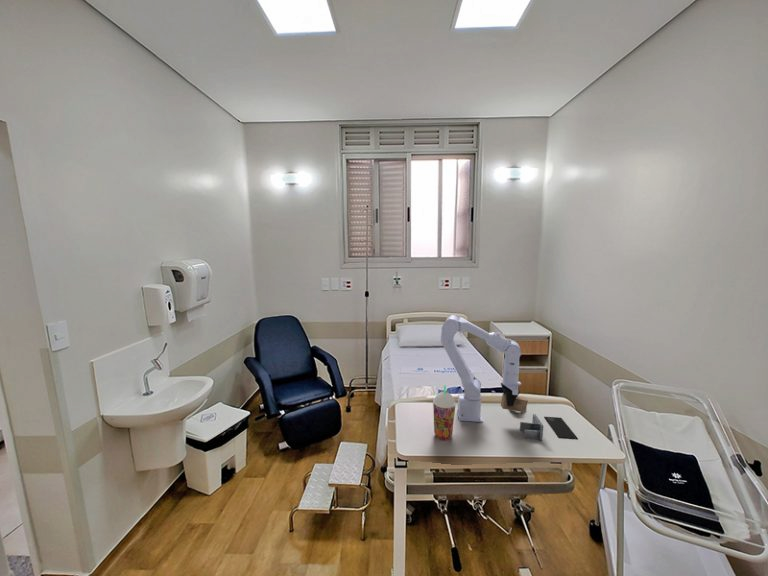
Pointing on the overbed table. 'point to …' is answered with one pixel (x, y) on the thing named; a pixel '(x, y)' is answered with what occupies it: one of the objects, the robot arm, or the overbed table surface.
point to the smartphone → (560, 428)
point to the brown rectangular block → (515, 403)
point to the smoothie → (443, 414)
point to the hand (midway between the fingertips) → (508, 403)
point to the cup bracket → (532, 428)
